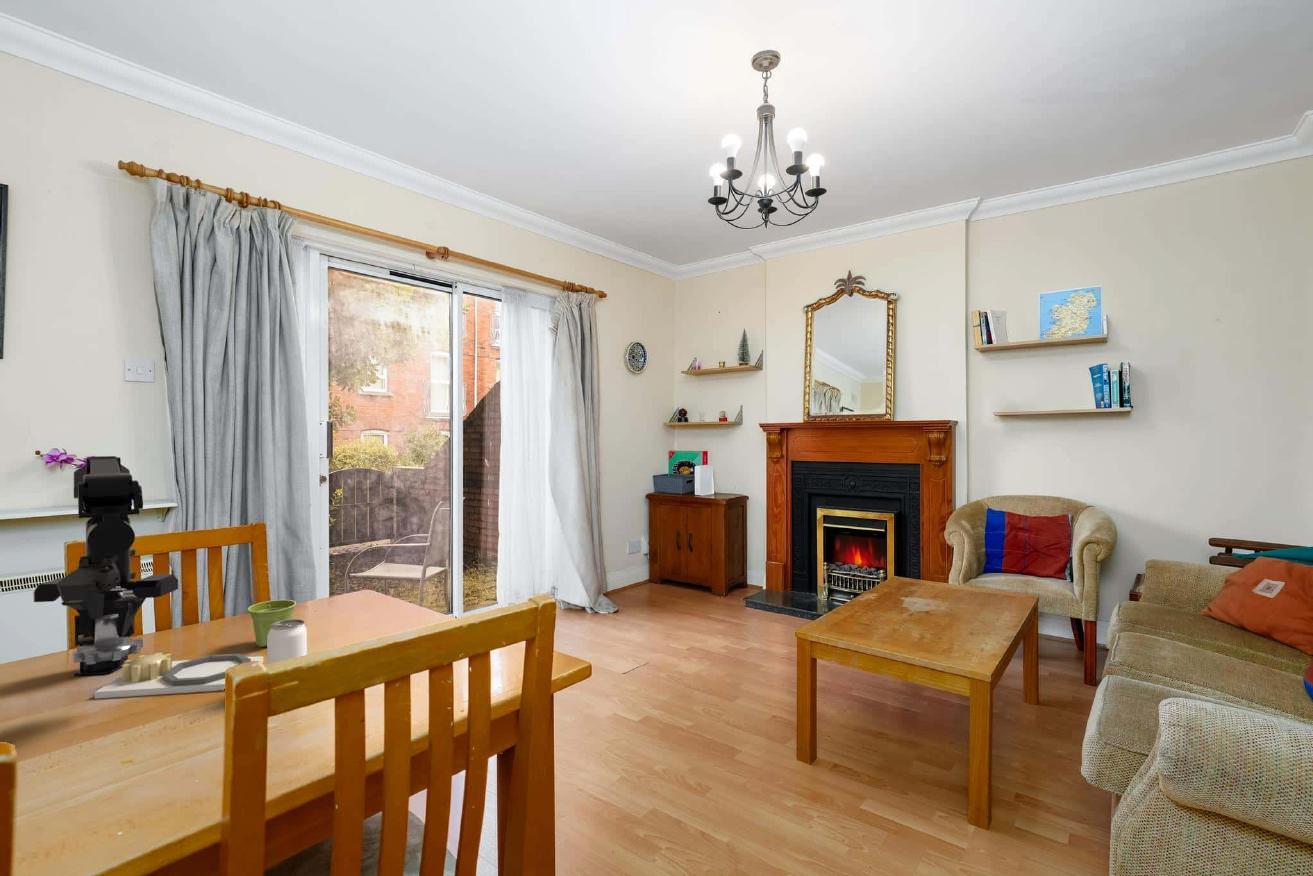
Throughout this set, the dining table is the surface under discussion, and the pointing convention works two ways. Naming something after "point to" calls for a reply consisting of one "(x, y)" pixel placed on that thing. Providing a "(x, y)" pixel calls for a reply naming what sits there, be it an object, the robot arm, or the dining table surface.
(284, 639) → the can
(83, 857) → the dining table surface
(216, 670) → the plate
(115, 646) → the planet gear
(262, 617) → the plant pot
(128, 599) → the robot arm
